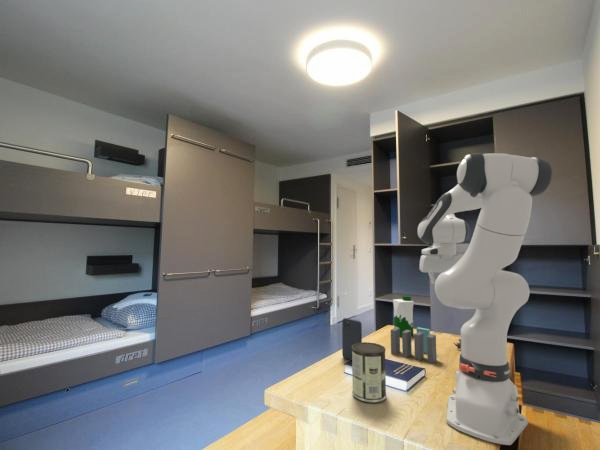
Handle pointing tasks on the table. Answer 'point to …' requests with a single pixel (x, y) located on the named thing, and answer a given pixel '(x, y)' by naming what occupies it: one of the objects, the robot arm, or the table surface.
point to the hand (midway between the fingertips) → (445, 283)
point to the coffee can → (368, 372)
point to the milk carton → (403, 314)
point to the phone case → (350, 336)
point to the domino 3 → (424, 336)
